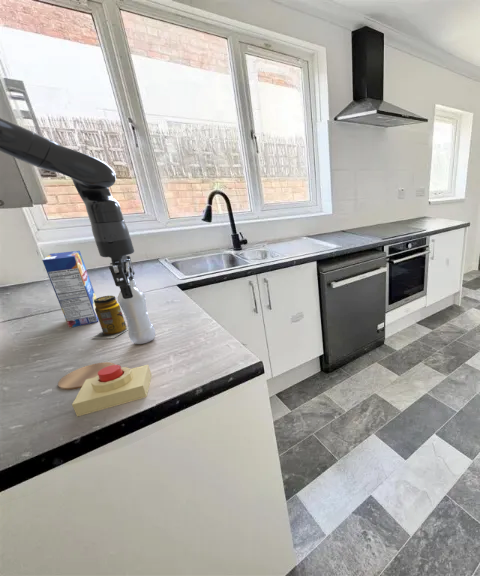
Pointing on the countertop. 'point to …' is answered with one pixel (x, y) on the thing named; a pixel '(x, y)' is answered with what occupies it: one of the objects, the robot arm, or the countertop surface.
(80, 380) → the coaster
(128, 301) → the plastic bottle
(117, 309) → the condiment
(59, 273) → the blue cardboard box
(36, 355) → the countertop surface
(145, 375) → the button base
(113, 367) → the red button cap
